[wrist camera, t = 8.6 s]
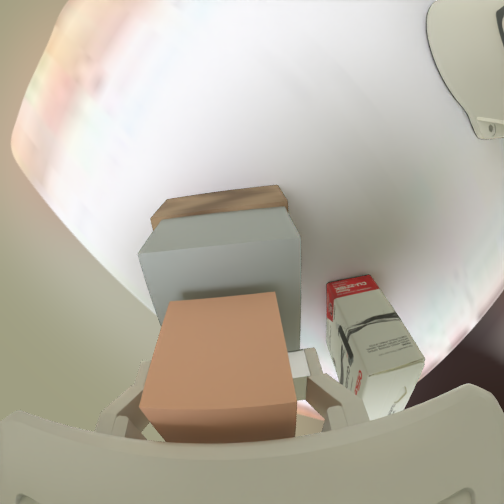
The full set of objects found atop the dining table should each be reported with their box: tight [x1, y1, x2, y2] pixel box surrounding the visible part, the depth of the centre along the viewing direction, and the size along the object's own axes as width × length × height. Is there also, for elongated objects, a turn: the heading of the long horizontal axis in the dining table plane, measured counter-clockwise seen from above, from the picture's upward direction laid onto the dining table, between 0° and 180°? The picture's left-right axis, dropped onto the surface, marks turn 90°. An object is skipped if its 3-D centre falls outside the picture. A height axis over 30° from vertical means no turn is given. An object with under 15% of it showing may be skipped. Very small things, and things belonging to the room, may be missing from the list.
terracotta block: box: [139, 291, 297, 443], centre depth 11 cm, size 5×5×6 cm
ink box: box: [326, 275, 425, 421], centre depth 22 cm, size 8×5×12 cm, turn 9°
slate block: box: [138, 206, 301, 351], centre depth 17 cm, size 8×9×5 cm
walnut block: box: [150, 185, 288, 231], centre depth 22 cm, size 9×10×5 cm
